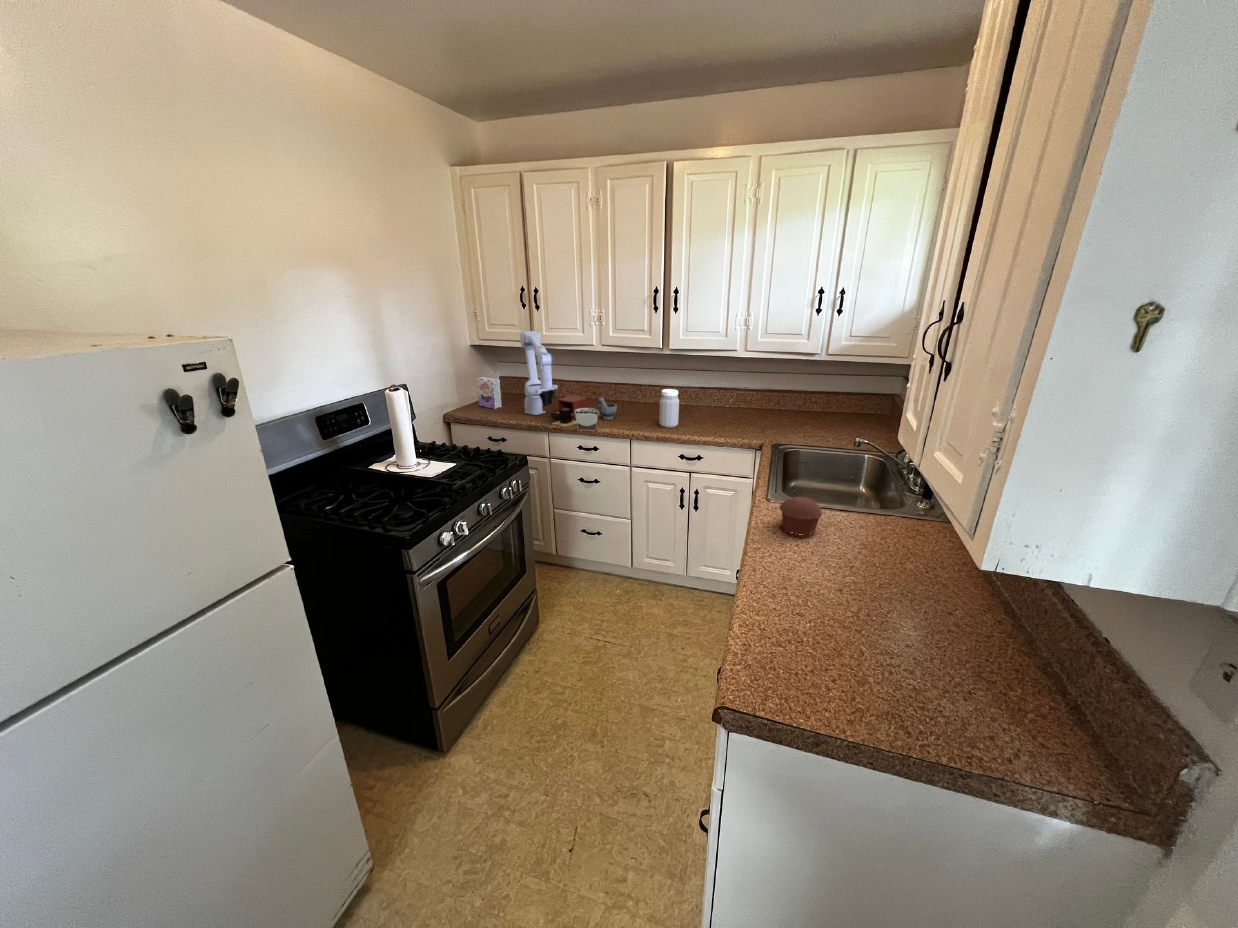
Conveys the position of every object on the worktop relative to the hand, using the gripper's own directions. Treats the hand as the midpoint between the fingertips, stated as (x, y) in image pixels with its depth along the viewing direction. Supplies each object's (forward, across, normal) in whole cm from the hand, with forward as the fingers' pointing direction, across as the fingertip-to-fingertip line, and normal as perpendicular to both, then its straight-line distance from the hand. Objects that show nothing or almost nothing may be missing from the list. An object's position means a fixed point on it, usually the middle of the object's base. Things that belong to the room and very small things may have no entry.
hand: (547, 405), depth 244 cm
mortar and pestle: (+10, +24, -20) cm, 33 cm away
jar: (+10, +30, -54) cm, 63 cm away
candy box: (+10, +7, +51) cm, 52 cm away
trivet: (+9, +4, -8) cm, 13 cm away
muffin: (+10, -46, -137) cm, 145 cm away
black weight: (+9, +4, -8) cm, 13 cm away
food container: (+10, +3, -23) cm, 25 cm away
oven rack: (+8, +12, 0) cm, 14 cm away
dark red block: (+9, +20, 0) cm, 22 cm away
